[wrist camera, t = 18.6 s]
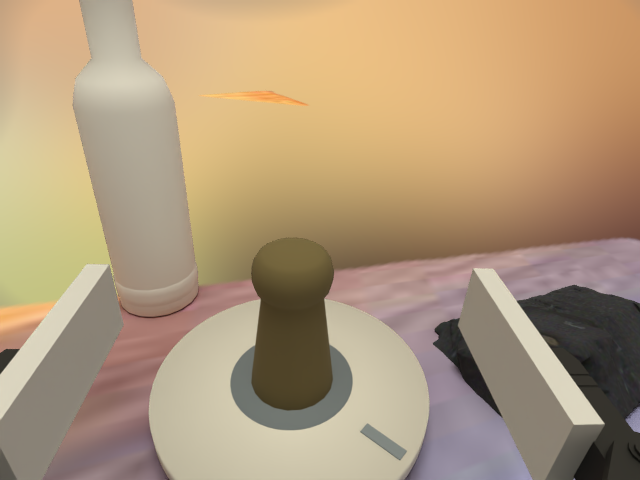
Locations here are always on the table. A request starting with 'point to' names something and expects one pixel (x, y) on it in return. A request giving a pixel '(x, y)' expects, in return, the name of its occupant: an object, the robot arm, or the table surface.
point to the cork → (292, 324)
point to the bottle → (134, 164)
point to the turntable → (295, 425)
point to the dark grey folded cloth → (571, 341)
